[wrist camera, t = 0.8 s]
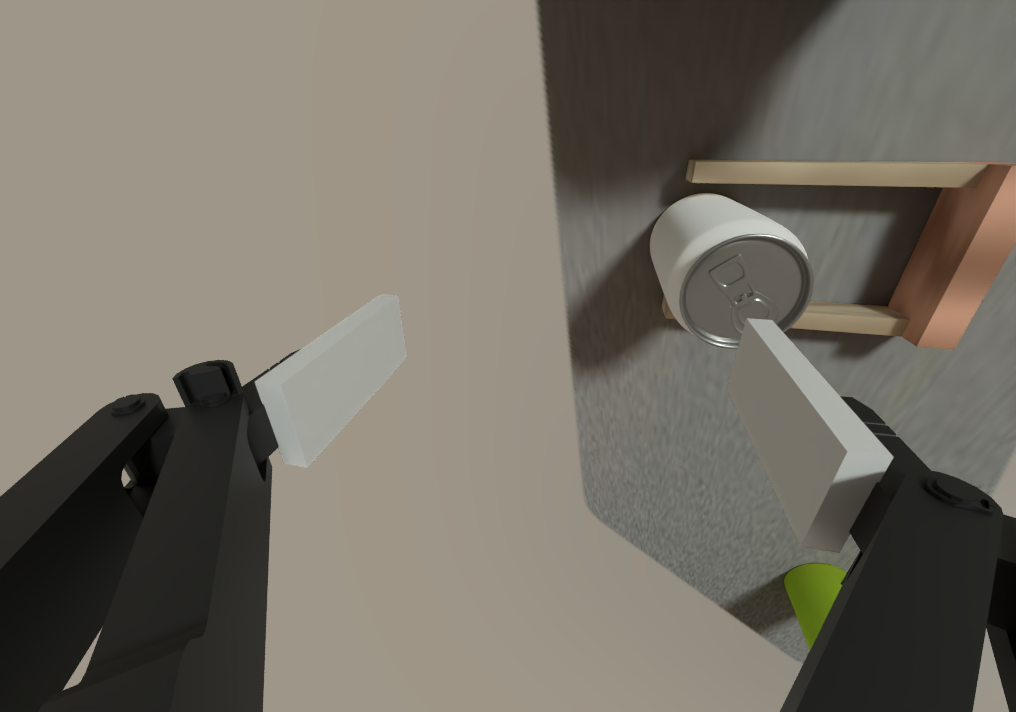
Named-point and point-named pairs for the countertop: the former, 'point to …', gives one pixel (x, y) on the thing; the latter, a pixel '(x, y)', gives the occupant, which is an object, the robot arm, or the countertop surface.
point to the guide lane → (937, 255)
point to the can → (728, 268)
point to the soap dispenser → (813, 595)
